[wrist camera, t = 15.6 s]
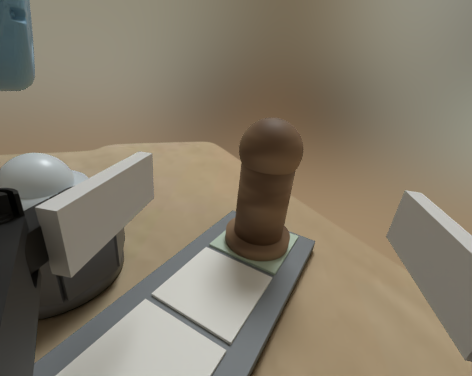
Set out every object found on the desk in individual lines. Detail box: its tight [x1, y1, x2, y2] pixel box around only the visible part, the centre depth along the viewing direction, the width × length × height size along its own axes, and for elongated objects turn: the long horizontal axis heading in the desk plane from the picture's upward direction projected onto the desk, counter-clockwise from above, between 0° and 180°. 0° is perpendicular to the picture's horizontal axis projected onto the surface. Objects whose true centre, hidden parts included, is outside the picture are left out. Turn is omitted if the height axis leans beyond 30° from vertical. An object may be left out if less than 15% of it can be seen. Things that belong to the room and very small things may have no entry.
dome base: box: [38, 227, 125, 319], centre depth 18 cm, size 9×9×4 cm
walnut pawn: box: [225, 118, 303, 261], centre depth 21 cm, size 6×6×11 cm
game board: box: [33, 211, 315, 376], centre depth 18 cm, size 9×20×1 cm, turn 150°
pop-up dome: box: [0, 153, 88, 211], centre depth 17 cm, size 7×7×6 cm
